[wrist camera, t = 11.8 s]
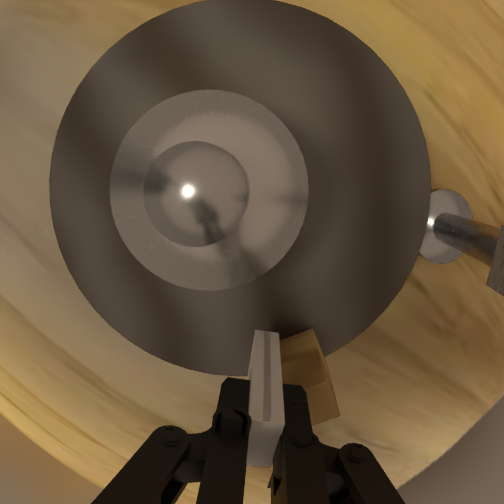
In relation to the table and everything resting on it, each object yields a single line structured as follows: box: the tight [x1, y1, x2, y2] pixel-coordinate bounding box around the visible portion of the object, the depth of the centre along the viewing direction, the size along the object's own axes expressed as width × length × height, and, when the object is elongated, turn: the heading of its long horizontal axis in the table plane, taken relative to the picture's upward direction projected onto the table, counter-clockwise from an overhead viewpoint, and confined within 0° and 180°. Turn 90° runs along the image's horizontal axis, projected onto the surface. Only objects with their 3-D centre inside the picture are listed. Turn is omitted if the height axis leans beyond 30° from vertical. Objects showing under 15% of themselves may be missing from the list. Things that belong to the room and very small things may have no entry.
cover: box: [110, 90, 308, 291], centre depth 13 cm, size 8×8×6 cm
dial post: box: [419, 189, 504, 296], centre depth 13 cm, size 6×5×13 cm
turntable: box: [49, 0, 431, 425], centre depth 15 cm, size 22×22×7 cm
